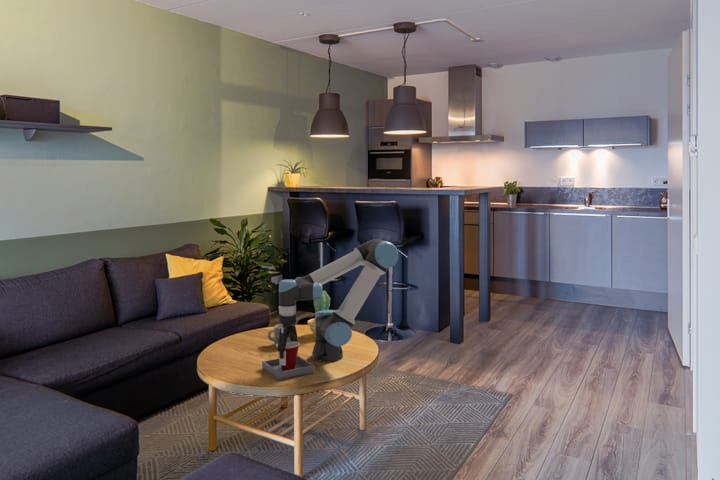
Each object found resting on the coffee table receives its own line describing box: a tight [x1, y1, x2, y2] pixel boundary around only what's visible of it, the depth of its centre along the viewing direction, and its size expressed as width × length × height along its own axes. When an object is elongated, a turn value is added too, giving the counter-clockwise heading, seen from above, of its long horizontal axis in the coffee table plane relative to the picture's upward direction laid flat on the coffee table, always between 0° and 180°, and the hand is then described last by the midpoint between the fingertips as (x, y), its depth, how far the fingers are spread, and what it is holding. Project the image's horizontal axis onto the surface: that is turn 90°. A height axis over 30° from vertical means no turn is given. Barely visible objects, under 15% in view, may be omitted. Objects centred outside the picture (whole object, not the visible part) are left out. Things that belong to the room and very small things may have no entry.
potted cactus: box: [306, 290, 331, 338], centre depth 306 cm, size 15×15×25 cm
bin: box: [261, 354, 315, 381], centre depth 250 cm, size 18×18×4 cm
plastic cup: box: [275, 341, 301, 371], centre depth 250 cm, size 11×11×12 cm
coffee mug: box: [267, 323, 291, 347], centre depth 289 cm, size 13×10×10 cm
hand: (287, 360), depth 250 cm, fingers open, 13 cm apart
